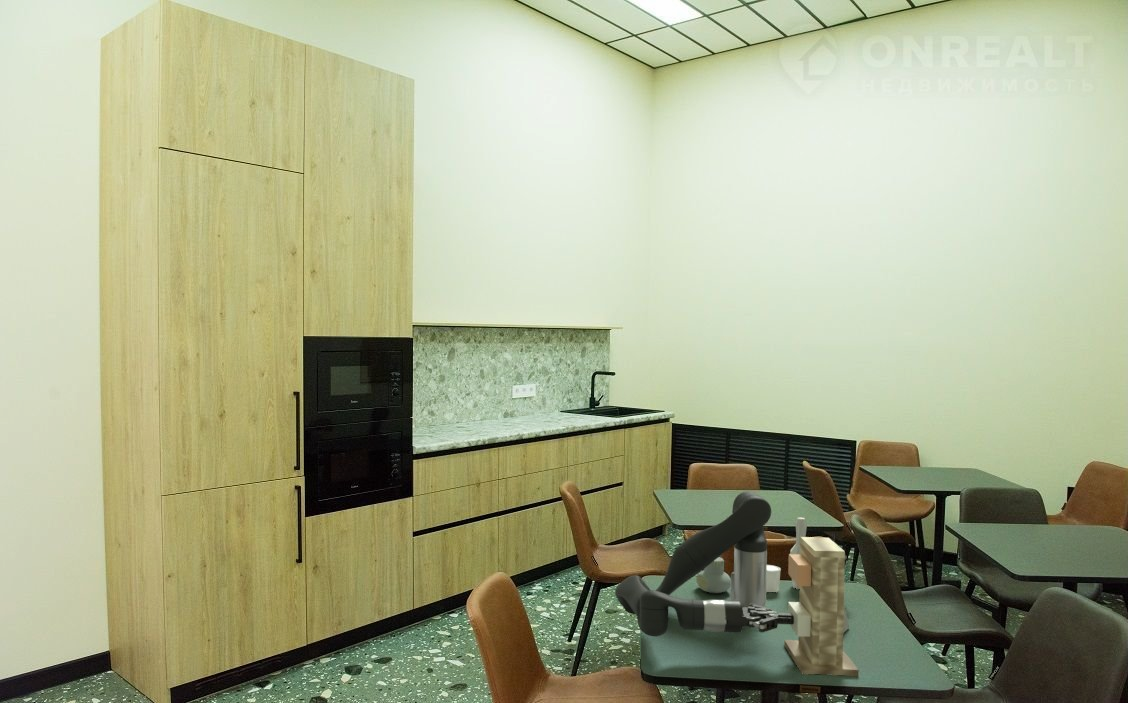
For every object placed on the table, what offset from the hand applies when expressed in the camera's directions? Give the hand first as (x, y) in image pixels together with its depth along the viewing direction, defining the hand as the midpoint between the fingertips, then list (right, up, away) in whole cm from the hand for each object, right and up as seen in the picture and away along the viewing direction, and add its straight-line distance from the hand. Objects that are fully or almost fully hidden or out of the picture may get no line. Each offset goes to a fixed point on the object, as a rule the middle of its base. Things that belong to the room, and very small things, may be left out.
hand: (792, 619), depth 178 cm
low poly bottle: (+19, -10, +53) cm, 57 cm away
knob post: (+7, -10, 0) cm, 12 cm away
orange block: (+4, +9, 0) cm, 10 cm away
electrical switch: (+17, -10, +18) cm, 27 cm away
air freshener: (-9, -9, +49) cm, 51 cm away
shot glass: (+8, -10, +51) cm, 52 cm away
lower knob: (+4, -3, 0) cm, 5 cm away
